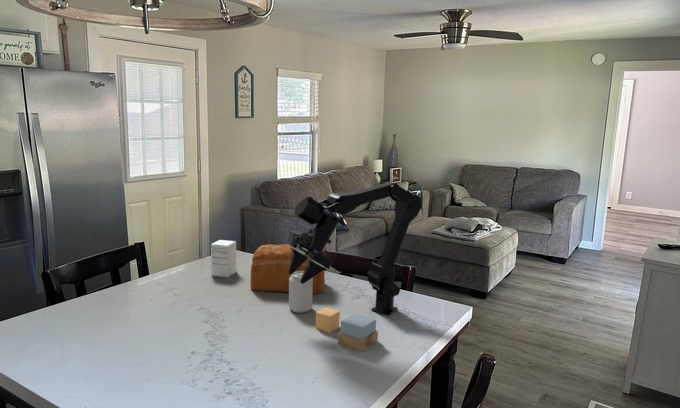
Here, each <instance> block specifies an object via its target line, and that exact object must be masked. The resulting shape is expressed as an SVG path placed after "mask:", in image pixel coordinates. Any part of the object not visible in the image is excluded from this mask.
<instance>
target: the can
mask: <svg viewBox="0 0 680 408" xmlns="http://www.w3.org/2000/svg"><path fill="white" fill-rule="evenodd" d="M303 274H304V271H298V272H294V273H293V274H292V275H291V277H290V278H289V292H288V308H289V309H290V311H292V312H294V313H297V314H304V313H307V312H309V311H310V310H312V308H313V293H312V289H313V278H311V279H310V280H308V281H307V282H305V283H304V284H302V283H300V281H301V278H302V276H303Z"/></svg>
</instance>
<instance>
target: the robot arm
mask: <svg viewBox="0 0 680 408" xmlns="http://www.w3.org/2000/svg"><path fill="white" fill-rule="evenodd" d="M386 198H390V200H392V201H393V202H395V203H394V220H393V223H392V225H391V228H390V231H389V234H388V236H387V239H386V241H385V244H384V248H383V250H382V252H381V256H380V258H379V260H377V262H376V263H374V262H373V261H372V262H371V263H370V267H369V270H368V271H367V273H366V274H367V281H368V283H369V284H370V286H371V289H372V290H375V291H376V293H375V306H374V307H372V308H371V309H370V310H371V311H372V312H375V313H380V314H383V315H387V316H390V315H391V314H393V313H394V312H396V311H397V310H398V309H399V308H398V307H397V306H394V303H395V297H396V296H399V294H400V292H401V287H399V286H398V285H397V284H396V283H395V278H396V268H395V265H396V262H397V258H398V256H399V253H400V250H401V248H402V245H403V242H404V239H405V237H406V234H407V231H408V228H409V227H410V223H411V222H412V221H414V219H415V218H417V216H418V215H419V213H420V212H421V209H422V207H423V200H422V198H421V197H420V196H419V195H417V194H415V193H414V194H413V193H411V192H409V191H408V190H407V189H405V188H404V187H402V186H400V185H399V184H398V183H396V182H392V181H386V182H384V183H381V184H377V185H374V186H370V187H366V188H363V189H359V190H356V191H338V192H333V193H331V194H329V195H328V197H327V198H325V199H323V200H320V201H317V200H315V199H314V198H313V197H312V196H310V195H306V196H305V198H303V199H301V200H300V201H299V202H298V203H297V205H296V206H295V209H294V216H296V217H297V218H299V219H300V220H302V221H303V222H305V223H307V224H308V225H314V224H315V225H314V226H313V228H312V229H311V228H309V229H308V230H307V231H303V230H302V231H298V230H291V229H290V230H289V234H288V238H287V242H290V243H288V244H289V245H290V246H292V247H293V248H291V247H290V249H291V251H292V260H291V264H290V268H289V272H288V273H289V274H291V275H292V274H293V273H294V272H295V271H296V270H297V269H298V268H299V267H300V266H301V265H302V264H303V263H304V262H305V261H306V260H307V267H306V269H305V271H304V274H303V276H302V278H301V281H300V283H302V284H304V283H305V282H307V281H308V280H310V279H311V278H312V277H314V276H315V275H317V274H319V273H320V272H322V271H323V270H324V271H326V270H327V269H328V270H330V268H331V267H332V265H333V259H332V258H330V257H329V256H327V255H326V254H325V253H324V252H323V251H324V250H325V248H326V246H327V244H328V245H331V243H332V240H330V239H331V237H332V235H333V233H334V232H335V230H336V229H337V227H338V225H340V226H342V227H346V223H345V219H344V218H345V217H344V216H343V215H347V214H350V213H351V212H353V211H355V210H356V209H357V208H358V207H360V206H362V205H365V204H369V203H372V202H375V201H379V200H382V199H386ZM325 211H326V212H328V213H326V212H325ZM336 214H338V216H337V215H336ZM304 254H306V255H309V258H310V259H312V260H310V259H308V257H307V256H305V255H304Z"/></svg>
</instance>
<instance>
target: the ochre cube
mask: <svg viewBox="0 0 680 408" xmlns="http://www.w3.org/2000/svg"><path fill="white" fill-rule="evenodd" d="M340 312H341V311H340V310H336V309H334V308H330V307H323V308H322V309H319V310H318V311H316V312H315V329H318V330H320V331H323V332H328V334H329V333H331V332H333V331H335V330H336V329H338V328H339V327H340V318H341V317H340V316H341V314H340Z"/></svg>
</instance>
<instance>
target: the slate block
mask: <svg viewBox="0 0 680 408" xmlns="http://www.w3.org/2000/svg"><path fill="white" fill-rule="evenodd" d="M376 329H377V319H376V318H374V317H373V318H372V317H370V316H366V315H363V314H360V313H356V312H354V313H353V314H351V315H349V316H347V317H345V318H343V319H342V320H340V332H341V333H342V334H345V335H348V336H351V337H355V338H358V339H361V340H363V339H364V338H366V337H367V336H369V335H370V334H372V333H373V332H375V331H376Z"/></svg>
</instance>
